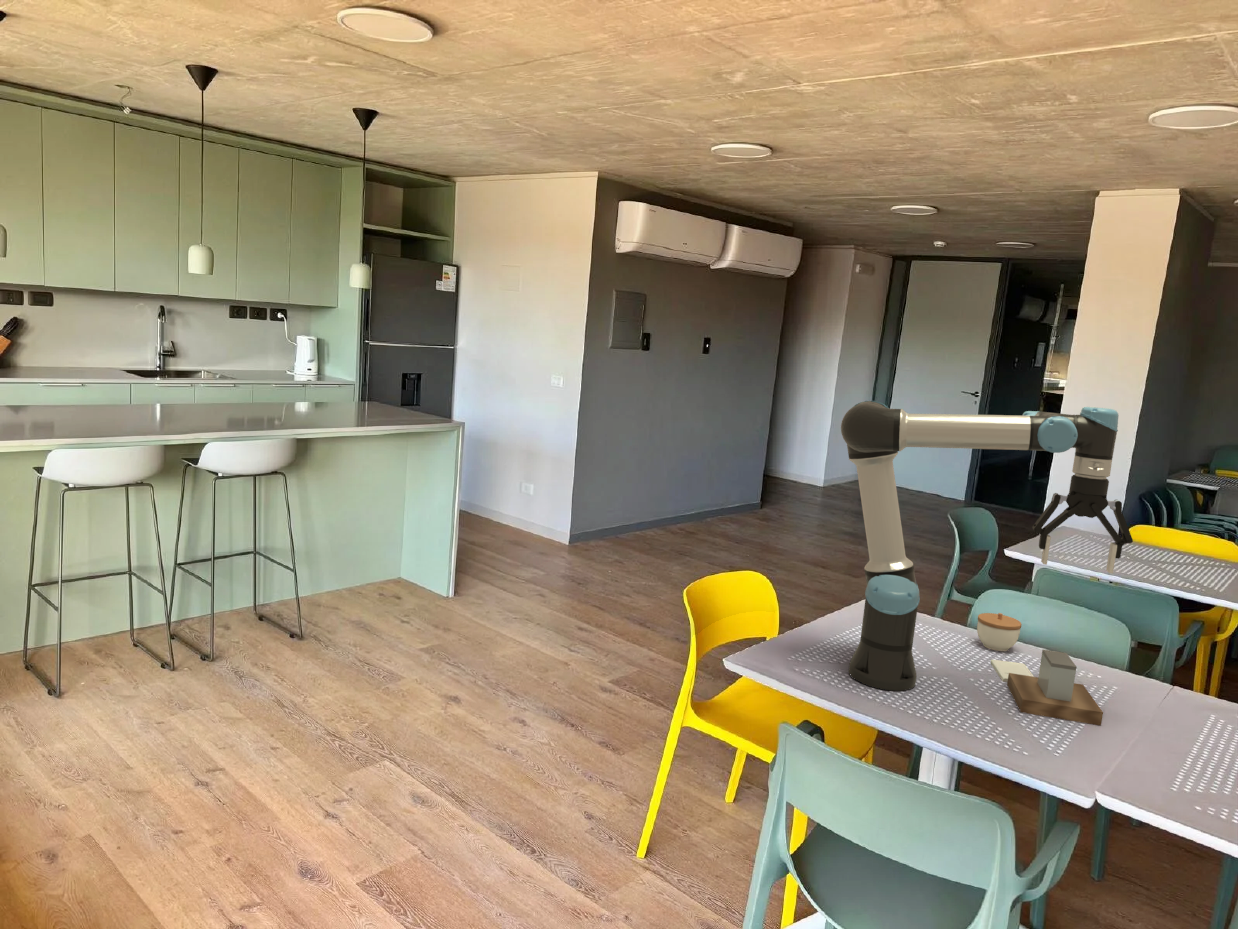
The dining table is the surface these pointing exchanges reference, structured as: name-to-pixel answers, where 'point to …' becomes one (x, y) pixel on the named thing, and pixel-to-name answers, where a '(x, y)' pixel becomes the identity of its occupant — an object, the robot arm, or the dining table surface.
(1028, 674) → the external hard drive
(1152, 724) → the dining table surface
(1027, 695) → the walnut stand
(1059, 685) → the block
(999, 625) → the lidded jar
